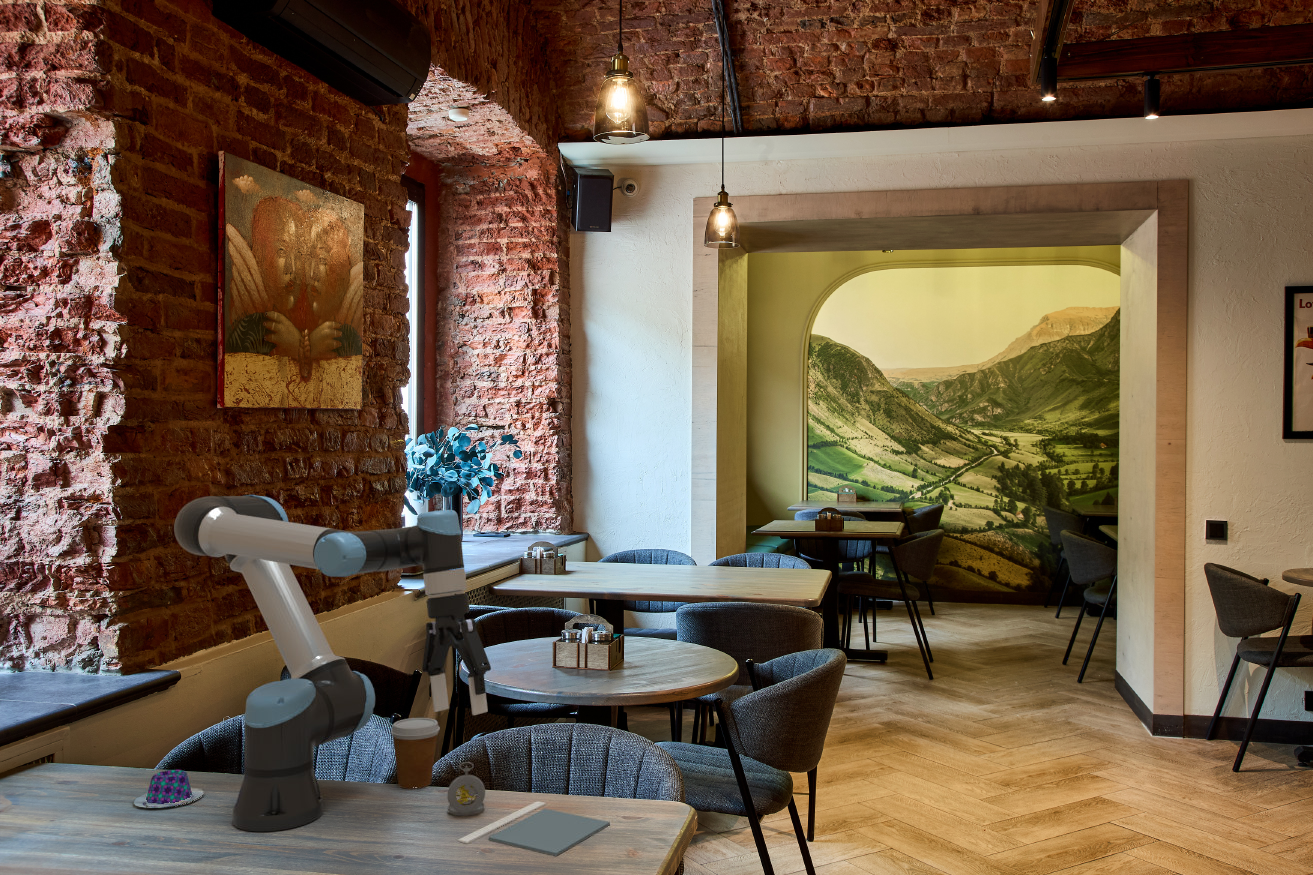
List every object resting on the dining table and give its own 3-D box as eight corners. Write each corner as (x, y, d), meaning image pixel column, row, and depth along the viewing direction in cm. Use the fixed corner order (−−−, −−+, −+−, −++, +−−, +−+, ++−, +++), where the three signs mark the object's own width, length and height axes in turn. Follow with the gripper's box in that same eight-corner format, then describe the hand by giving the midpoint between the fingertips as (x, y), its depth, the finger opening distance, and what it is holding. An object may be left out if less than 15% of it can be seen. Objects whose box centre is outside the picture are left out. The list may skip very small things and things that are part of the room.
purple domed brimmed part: (217, 793, 185) (218, 766, 185) (172, 814, 173) (173, 785, 174) (165, 789, 188) (165, 762, 188) (117, 809, 176) (118, 780, 176)
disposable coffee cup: (426, 793, 184) (427, 730, 185) (381, 789, 186) (382, 727, 187) (447, 778, 194) (447, 718, 194) (403, 775, 195) (404, 716, 196)
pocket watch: (471, 802, 179) (471, 748, 179) (497, 813, 173) (497, 757, 173) (433, 813, 173) (433, 757, 174) (458, 825, 167) (459, 767, 168)
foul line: (458, 841, 160) (458, 839, 160) (537, 802, 179) (537, 801, 179) (467, 843, 159) (467, 841, 159) (545, 804, 178) (545, 802, 178)
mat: (488, 839, 160) (488, 836, 160) (545, 811, 174) (545, 808, 174) (556, 856, 153) (556, 852, 153) (609, 824, 167) (609, 821, 167)
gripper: (501, 588, 169) (515, 709, 166) (431, 594, 187) (444, 704, 185) (464, 594, 163) (478, 719, 161) (396, 600, 182) (408, 713, 179)
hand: (460, 711), depth 173 cm, fingers open, 13 cm apart
